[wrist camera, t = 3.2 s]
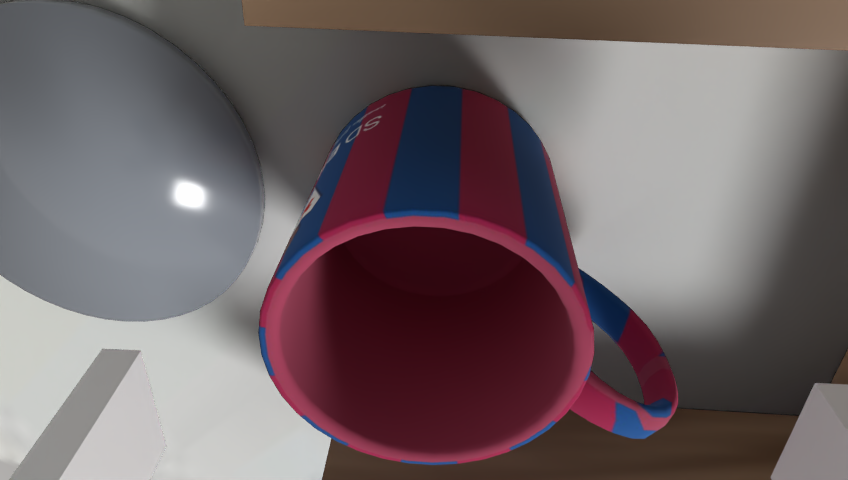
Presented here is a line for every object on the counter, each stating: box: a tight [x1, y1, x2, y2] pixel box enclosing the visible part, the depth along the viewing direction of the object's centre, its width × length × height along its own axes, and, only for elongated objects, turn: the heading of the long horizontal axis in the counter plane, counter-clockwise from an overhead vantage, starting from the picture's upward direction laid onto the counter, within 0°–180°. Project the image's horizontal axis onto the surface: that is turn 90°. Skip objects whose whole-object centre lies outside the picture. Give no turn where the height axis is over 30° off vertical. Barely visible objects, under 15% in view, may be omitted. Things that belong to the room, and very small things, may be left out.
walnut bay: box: [242, 0, 848, 480], centre depth 16 cm, size 16×18×6 cm
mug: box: [258, 86, 678, 465], centre depth 16 cm, size 7×10×7 cm
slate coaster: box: [0, 0, 265, 321], centre depth 18 cm, size 10×10×1 cm
